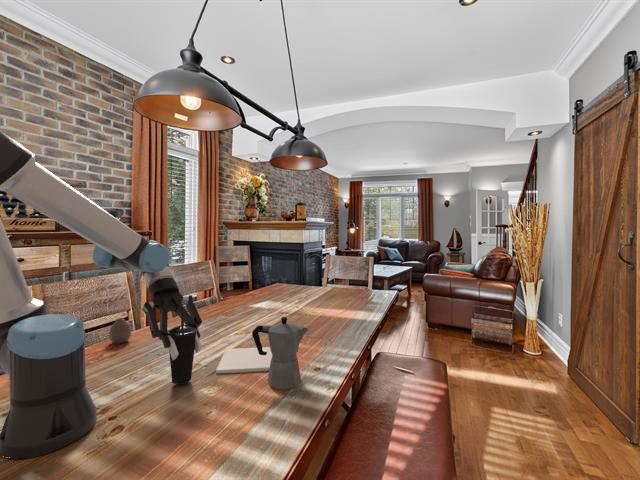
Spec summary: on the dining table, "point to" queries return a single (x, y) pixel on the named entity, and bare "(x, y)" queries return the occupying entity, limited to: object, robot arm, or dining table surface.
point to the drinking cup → (182, 351)
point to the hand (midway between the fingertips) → (187, 353)
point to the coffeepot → (282, 352)
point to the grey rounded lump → (120, 331)
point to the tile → (244, 360)
